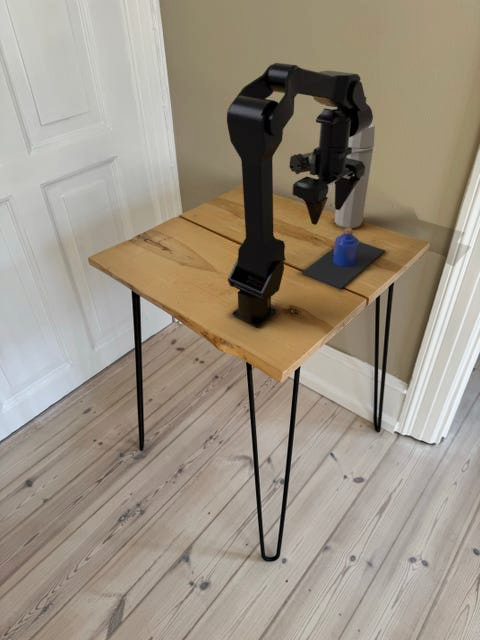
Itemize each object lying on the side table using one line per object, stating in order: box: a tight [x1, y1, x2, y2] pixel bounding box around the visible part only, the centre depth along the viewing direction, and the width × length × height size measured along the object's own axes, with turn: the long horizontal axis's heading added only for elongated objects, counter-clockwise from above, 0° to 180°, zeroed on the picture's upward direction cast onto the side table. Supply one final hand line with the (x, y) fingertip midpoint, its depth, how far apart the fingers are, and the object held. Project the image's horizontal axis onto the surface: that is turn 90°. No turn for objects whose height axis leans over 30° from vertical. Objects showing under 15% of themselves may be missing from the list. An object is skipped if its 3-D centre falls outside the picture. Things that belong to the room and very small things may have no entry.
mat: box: [301, 241, 386, 290], centre depth 107 cm, size 20×10×1 cm, turn 140°
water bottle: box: [328, 121, 376, 229], centre depth 114 cm, size 9×8×25 cm
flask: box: [333, 228, 360, 267], centre depth 104 cm, size 5×5×8 cm
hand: (326, 216), depth 101 cm, fingers open, 9 cm apart
